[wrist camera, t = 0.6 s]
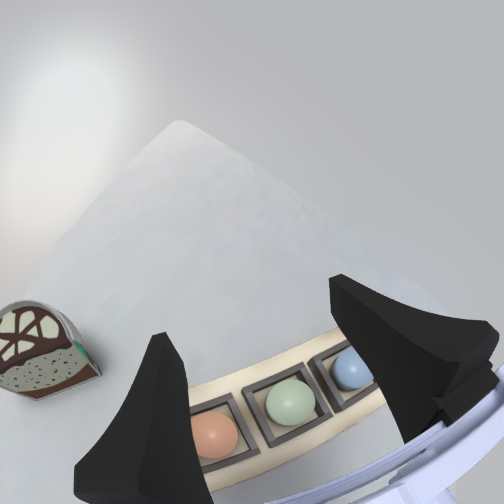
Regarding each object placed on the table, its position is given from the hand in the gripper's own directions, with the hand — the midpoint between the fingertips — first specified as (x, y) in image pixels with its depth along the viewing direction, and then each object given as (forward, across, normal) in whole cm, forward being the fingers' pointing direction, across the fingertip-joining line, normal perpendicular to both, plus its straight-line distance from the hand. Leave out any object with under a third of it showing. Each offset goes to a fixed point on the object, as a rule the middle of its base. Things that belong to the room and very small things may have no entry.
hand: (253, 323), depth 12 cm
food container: (+12, +22, +10) cm, 27 cm away
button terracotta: (+2, +6, +14) cm, 15 cm away
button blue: (+5, -8, +16) cm, 18 cm away
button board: (+5, 0, +18) cm, 19 cm away
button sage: (+4, -1, +15) cm, 15 cm away
